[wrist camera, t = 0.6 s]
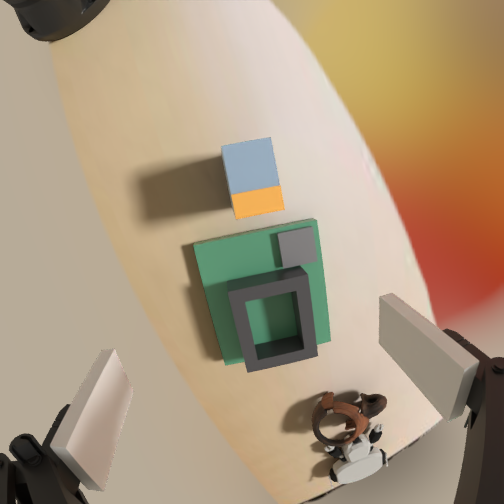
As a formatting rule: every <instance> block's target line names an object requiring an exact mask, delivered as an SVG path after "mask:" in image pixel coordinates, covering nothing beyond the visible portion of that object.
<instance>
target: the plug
mask: <svg viewBox="0 0 504 504" xmlns="http://www.w3.org/2000/svg"><path fill="white" fill-rule="evenodd" d="M221 154H222V161H223V166H224V171H225V176H226V181H227V186H228V191H229V196H230V200H231V205H232V209H233V212H234V215H235V218H236V219H240V218H245V217H250V216H255V215H260V214H265V213H270V212H275V211H280V210H285V208H284V203H283V197H282V192H281V186H280V183H279V178H278V172H277V167H276V162H275V157H274V152H273V146H272V141H271V137H269V138H263V139H257V140H251V141H246V142H240V143H235V144H230V145H224V146H221Z"/></svg>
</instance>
